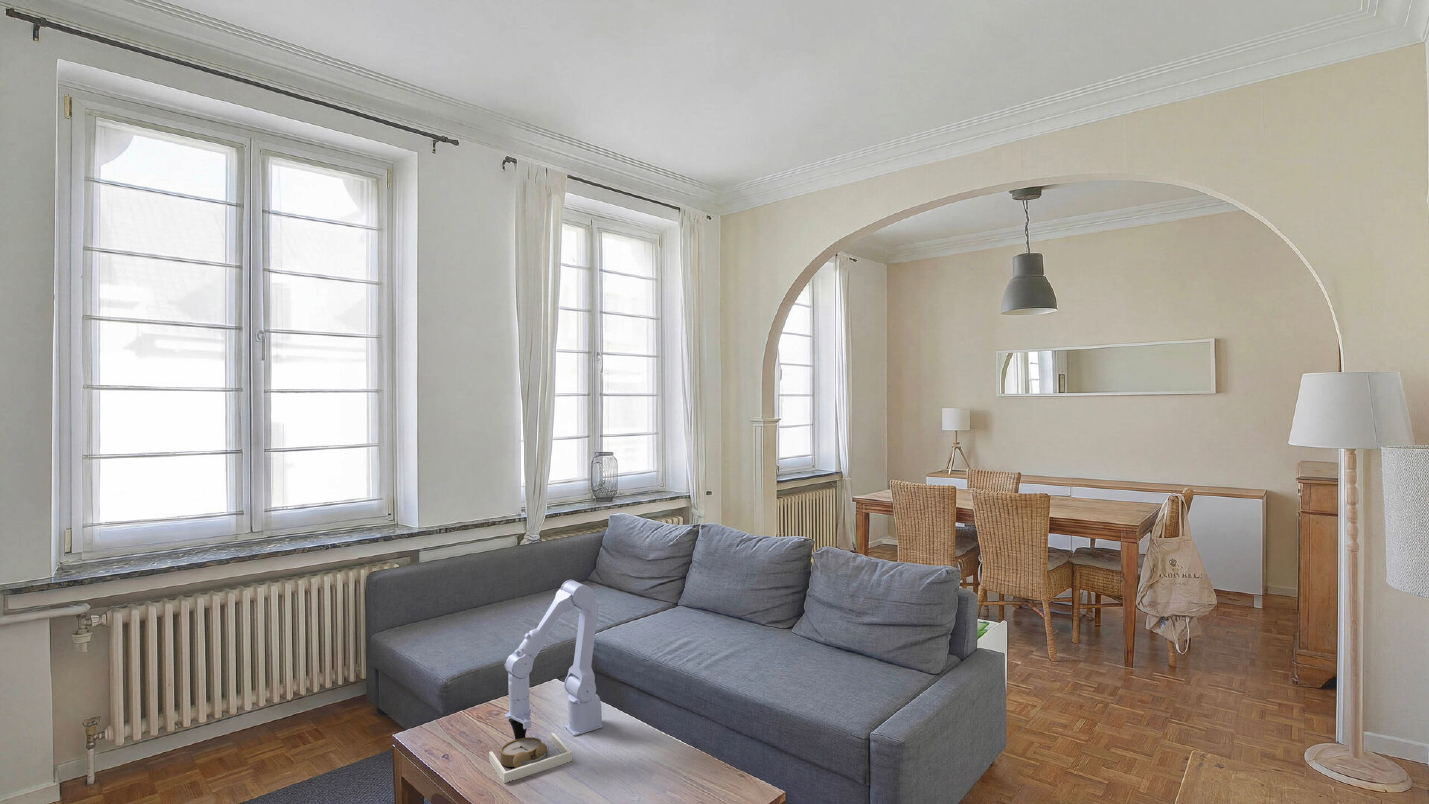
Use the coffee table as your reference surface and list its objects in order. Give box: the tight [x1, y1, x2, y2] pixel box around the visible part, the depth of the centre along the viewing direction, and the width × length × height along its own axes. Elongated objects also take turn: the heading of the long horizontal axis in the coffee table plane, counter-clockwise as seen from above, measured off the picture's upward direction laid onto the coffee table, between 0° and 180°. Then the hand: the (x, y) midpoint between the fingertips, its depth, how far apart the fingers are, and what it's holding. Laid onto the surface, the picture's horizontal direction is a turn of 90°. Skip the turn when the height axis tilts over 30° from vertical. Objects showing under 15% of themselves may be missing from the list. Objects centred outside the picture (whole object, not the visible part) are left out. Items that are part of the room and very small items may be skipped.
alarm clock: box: [498, 736, 549, 769], centre depth 192 cm, size 11×5×15 cm
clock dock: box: [488, 732, 573, 784], centre depth 191 cm, size 19×14×2 cm
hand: (520, 743), depth 199 cm, fingers closed, pressing on alarm clock
